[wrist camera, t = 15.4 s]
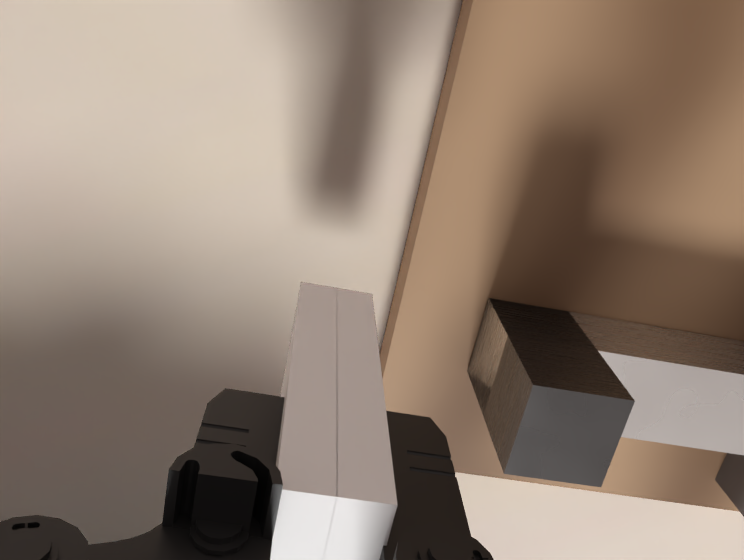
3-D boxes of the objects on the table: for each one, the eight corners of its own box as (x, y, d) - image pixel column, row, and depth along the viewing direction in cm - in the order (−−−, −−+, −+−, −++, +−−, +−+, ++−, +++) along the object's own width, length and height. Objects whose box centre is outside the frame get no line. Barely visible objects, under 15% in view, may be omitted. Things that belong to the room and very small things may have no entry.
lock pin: (467, 371, 17) (503, 473, 14) (488, 297, 17) (532, 384, 13) (833, 428, 19) (957, 537, 15) (867, 362, 18) (1007, 459, 14)
